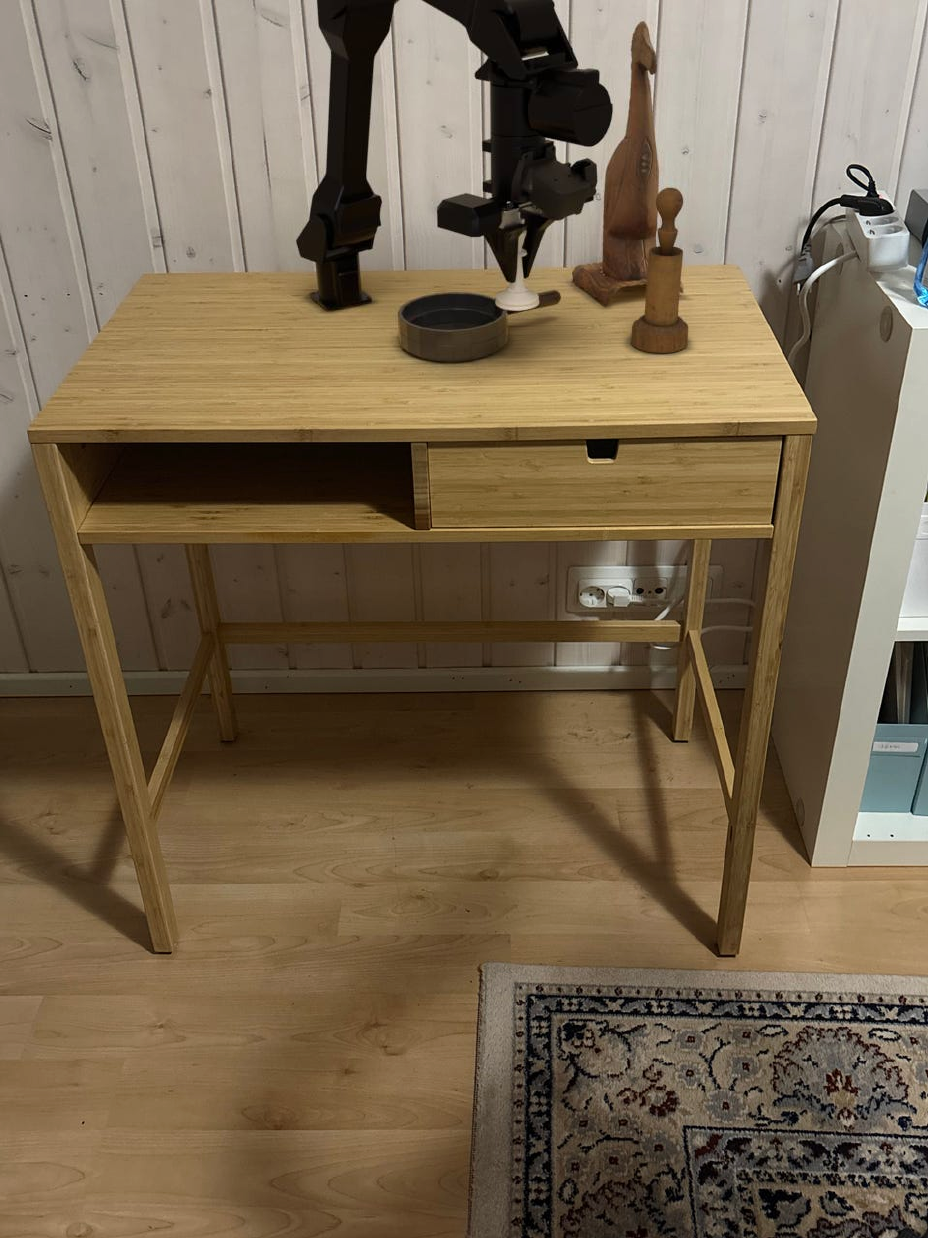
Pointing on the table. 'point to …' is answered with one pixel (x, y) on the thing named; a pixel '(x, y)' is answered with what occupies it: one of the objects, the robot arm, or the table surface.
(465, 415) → the table surface
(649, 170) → the bird sculpture
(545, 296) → the pan handle
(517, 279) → the chess piece
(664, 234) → the mortar and pestle
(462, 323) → the pan
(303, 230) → the robot arm
